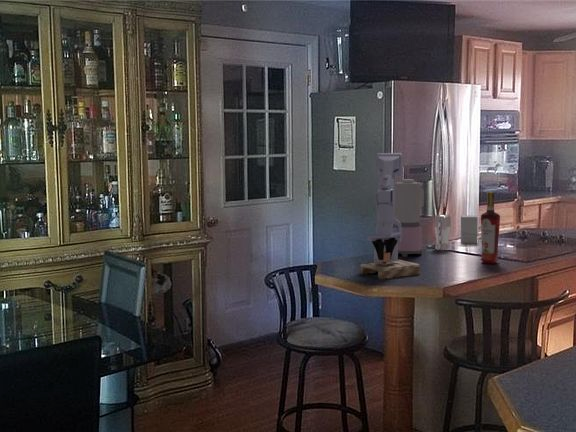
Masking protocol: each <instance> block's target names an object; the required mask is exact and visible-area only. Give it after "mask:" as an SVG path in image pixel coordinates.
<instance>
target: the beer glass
mask: <svg viewBox="0 0 576 432" xmlns="http://www.w3.org/2000/svg"><path fill="white" fill-rule="evenodd" d="M451 224H452V220H451V215H448V214H436V215H435V217H434V232H435V238H436V239H435V241H436V244H435V250H437V251H450V241H449V240H450V235H451V229H452V225H451Z"/></svg>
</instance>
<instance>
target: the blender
mask: <svg viewBox="0 0 576 432" xmlns="http://www.w3.org/2000/svg"><path fill="white" fill-rule="evenodd" d="M425 194H426V193H425V188H424V186H422V183H421V182H419V181H418V182H417V181H415V179H414V178H413V179H411V178H405V179H403V178H402V180H401V182H400V181H398V182H395V211H394V213H395V218H396V219H397V220H398V221H399V222H400V223H401V233H402V238H401V241H400V242H398V254H399V255H400V254H401V257H405V258H408V255H415V254H416V255H417V254H420V256H422V255H423V229H422V227H421V224H420V218H421V213H422V212H421V211H422V209H424V208H425Z"/></svg>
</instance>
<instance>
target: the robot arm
mask: <svg viewBox="0 0 576 432" xmlns="http://www.w3.org/2000/svg"><path fill="white" fill-rule="evenodd" d="M375 158H376V159H375V165H376V170H377V174H378V176H380V178H379V179H378V183H377V190H376V191H375V196H374V200H375V201H374V202H375V211H376V224H375V233H374V234H371V235H366V241H367V242H371V243H372V245H373V247H374V248H373V263H376V262H382V261H379V260H383V257H384V251H386V252H390V261H392V260H399V258H398V257H399V253H398V242H400V241H401V238H402V233H401V223H400V222H399V221H398V220H397V219H396V217H395V183H396V180H397V178H398V177H399V176H401V175H402V172H403V171H402V170H403V154H402V153H401V152H383V153H382V152H377V153H376V157H375Z"/></svg>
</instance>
